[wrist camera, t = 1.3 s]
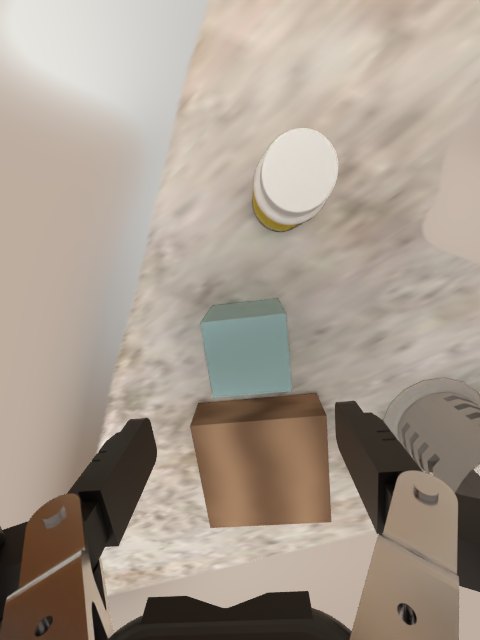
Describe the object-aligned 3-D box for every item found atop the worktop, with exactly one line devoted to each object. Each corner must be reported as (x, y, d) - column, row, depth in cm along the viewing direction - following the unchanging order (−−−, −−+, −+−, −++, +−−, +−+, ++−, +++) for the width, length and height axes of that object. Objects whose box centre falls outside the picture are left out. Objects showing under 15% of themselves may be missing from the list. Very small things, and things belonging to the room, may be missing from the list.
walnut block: (315, 391, 26) (326, 415, 22) (320, 486, 29) (331, 521, 25) (199, 401, 27) (190, 425, 23) (215, 492, 30) (210, 527, 26)
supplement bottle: (288, 243, 22) (309, 238, 14) (241, 212, 22) (235, 189, 14) (321, 190, 21) (365, 153, 13) (273, 157, 21) (287, 96, 12)
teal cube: (277, 298, 24) (285, 313, 18) (282, 358, 25) (292, 391, 19) (212, 305, 24) (200, 322, 18) (221, 364, 26) (212, 398, 20)
